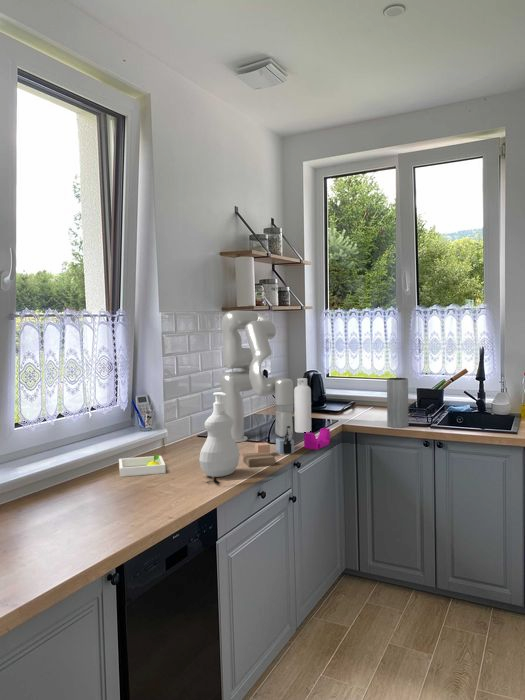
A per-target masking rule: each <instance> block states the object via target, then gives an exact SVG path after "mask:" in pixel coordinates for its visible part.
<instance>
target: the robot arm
mask: <svg viewBox="0 0 525 700" xmlns="http://www.w3.org/2000/svg"><path fill="white" fill-rule="evenodd" d="M220 322H221V323H220V326H221V327H220V328H221V333H222V351H223V352H222V354H223V356H222V358H223V359H222V360H223V361H222V362H223V365H224V367H225V368H226V369H230V370H235V369H240V371H238V370H236V371H228V372H225V373H223V374H222V376H221V377H220V379H219V384H220V389H221V391H220V392H223V393H225V394H226V395H227V396H222V402H224V411H225V413H226V414H227V415H229V416H230V417H231V418H232V419H233V426H232V428H231V435H232V438H233V439H234V441H235V442H236V443H243V442H246V441H248V436H246V435H245V420H244V419H245V418H244V417H245V416H244V412H245V411H244V408H245V407H244V399H243V396H242V395H241V394H240V392H241V393H242V392H249V391H252V390H253V392H254V393H255V394H256V396H259V397H265V396H266V397H267V396H274V404H275V405H274V407H275V410H274V411H275V412H274V413H275V423H274V424H275V429H274V430H275V431H274V432H275V434H276V435H277V436H278V438H284V453H285V454H284V455H287V454H286V453H291V440H292V439H293V436H294V435H293V433H294V425H293V413H294V382H293V380H292V379H290V378H282V377H279V376H273V377H263V373H262V370H261V369H262V368H261V367H262V363H263V362H264V361H265V360H266V359H268V358H270V357H271V356H272V352H273V351H272V349H271V345H270V342H269V340H272V339H274V338H275V336H276V334H277V331H276V329H277V328H276V325H275V324H274V322H273V321H271V320H270V319H269V318H268V317H266V316H264V315H263V314H261V313H260V312H258V311H256V310H255V311H254V310H238V309H237V310H231V311H230V310H229V311H227V312H226V313H225V314H223V316H222V318H221V321H220ZM239 330H244V331H245V335H246V339H247V342H248V345H249V347H243V341H242V336H241V334H240V332H239ZM286 438H287V439H286Z"/></svg>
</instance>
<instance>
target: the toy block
mask: <svg viewBox="0 0 525 700" xmlns="http://www.w3.org/2000/svg"><path fill="white" fill-rule="evenodd" d="M330 442H331V428H323V427H322V428H320V429H319V433H318V436H317V437H316V433H315V432H306V433H303V448H304V449H308V450H319V449H321V448H323V447H326V446H328V445H330Z"/></svg>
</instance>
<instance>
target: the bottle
mask: <svg viewBox="0 0 525 700" xmlns="http://www.w3.org/2000/svg"><path fill="white" fill-rule="evenodd" d="M293 413H294V432H296V433H300V434H302V433H303V434H304V432H306V433H307V432H310V431H311V432H312V389H311V387H310V386H309V385H308V378H305V377H304V378H303V377H301V378H300V377H299V378H297V386H295V387H294V388H293ZM311 432H310V433H311Z"/></svg>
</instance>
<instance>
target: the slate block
mask: <svg viewBox="0 0 525 700" xmlns="http://www.w3.org/2000/svg"><path fill="white" fill-rule="evenodd" d="M286 439H287V438H286ZM276 451H277V452H278V453H277V452H276ZM275 452H276V453H277V454H278V455H279V454H284V455H290V454H295V440H294V439H293V438H292V440H291V453H289V454H288V453H286V454H285V453H284V438H279V437H277V438H275Z"/></svg>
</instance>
